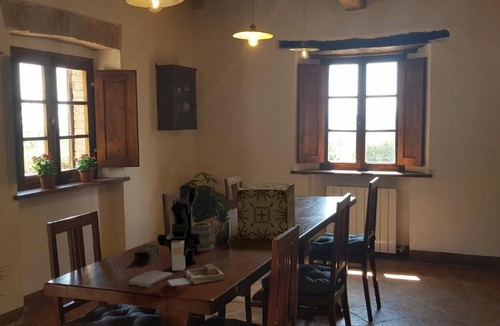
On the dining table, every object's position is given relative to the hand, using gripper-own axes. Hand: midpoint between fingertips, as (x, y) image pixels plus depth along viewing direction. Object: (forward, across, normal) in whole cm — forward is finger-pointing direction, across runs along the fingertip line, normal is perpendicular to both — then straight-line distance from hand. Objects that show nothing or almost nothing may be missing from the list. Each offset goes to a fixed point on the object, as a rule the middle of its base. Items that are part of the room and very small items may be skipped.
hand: (177, 256), depth 224 cm
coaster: (+8, 0, +10) cm, 13 cm away
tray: (+4, +11, +14) cm, 18 cm away
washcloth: (+5, -13, +14) cm, 20 cm away
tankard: (-36, +2, +55) cm, 66 cm away
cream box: (+3, 0, +5) cm, 6 cm away
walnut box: (+1, +13, +16) cm, 20 cm away
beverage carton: (-20, -23, +39) cm, 50 cm away
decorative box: (-57, +42, +76) cm, 104 cm away
